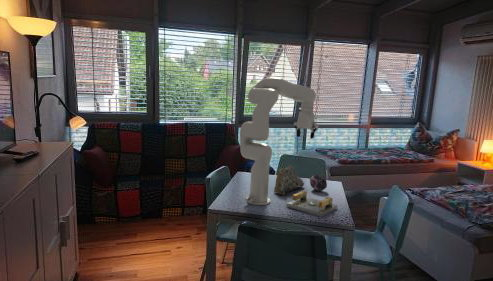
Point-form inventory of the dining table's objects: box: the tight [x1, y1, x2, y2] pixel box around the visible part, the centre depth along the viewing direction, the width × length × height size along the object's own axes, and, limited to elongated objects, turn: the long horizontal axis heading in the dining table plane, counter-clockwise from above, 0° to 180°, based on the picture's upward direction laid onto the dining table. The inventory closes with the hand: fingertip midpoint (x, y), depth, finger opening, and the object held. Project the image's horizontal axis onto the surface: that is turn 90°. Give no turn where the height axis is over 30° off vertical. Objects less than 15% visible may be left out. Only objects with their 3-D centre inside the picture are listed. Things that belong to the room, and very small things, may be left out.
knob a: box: [291, 190, 308, 201], centre depth 178 cm, size 11×4×4 cm, turn 140°
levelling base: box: [286, 196, 338, 218], centre depth 173 cm, size 17×20×3 cm
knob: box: [318, 196, 334, 208], centre depth 169 cm, size 11×4×4 cm, turn 140°
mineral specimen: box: [309, 173, 328, 191], centre depth 204 cm, size 10×10×10 cm
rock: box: [273, 164, 305, 196], centre depth 201 cm, size 27×10×15 cm, turn 142°
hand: (305, 137), depth 209 cm, fingers open, 9 cm apart
